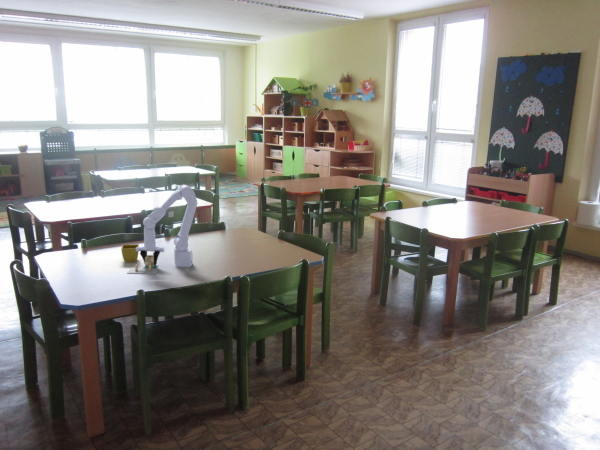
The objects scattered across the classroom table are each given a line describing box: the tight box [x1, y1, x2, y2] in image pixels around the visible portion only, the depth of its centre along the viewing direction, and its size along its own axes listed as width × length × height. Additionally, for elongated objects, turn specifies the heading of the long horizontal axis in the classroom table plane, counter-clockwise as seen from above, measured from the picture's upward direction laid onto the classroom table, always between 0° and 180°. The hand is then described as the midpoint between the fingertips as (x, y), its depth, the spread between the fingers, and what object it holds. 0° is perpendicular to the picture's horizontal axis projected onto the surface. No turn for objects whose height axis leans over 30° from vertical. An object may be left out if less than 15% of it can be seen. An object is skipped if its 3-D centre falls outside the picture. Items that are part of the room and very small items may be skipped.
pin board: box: [127, 264, 160, 275], centre depth 251 cm, size 14×8×4 cm, turn 90°
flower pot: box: [120, 243, 140, 264], centre depth 268 cm, size 9×9×9 cm
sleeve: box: [144, 254, 157, 268], centre depth 259 cm, size 4×4×6 cm
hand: (150, 264), depth 259 cm, fingers closed on sleeve, 4 cm apart
